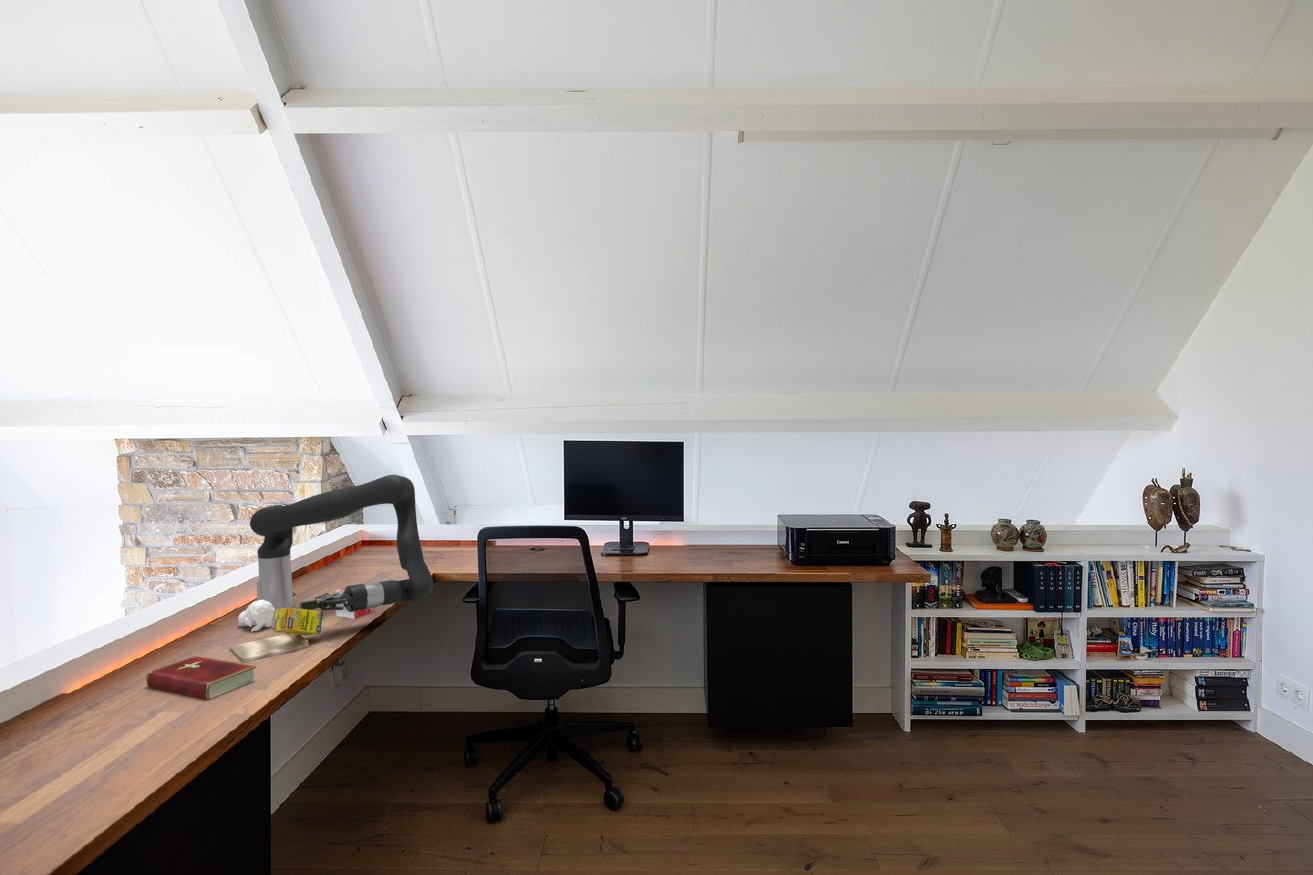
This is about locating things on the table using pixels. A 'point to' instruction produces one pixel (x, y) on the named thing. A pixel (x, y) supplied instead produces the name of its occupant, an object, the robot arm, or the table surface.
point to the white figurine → (257, 615)
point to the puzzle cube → (351, 614)
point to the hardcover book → (200, 677)
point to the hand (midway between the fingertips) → (301, 606)
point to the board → (269, 647)
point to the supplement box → (297, 621)
